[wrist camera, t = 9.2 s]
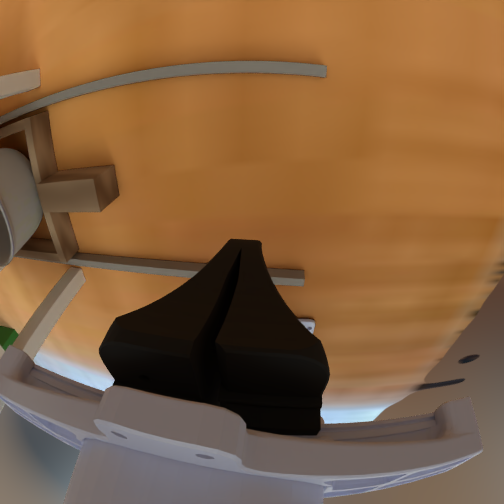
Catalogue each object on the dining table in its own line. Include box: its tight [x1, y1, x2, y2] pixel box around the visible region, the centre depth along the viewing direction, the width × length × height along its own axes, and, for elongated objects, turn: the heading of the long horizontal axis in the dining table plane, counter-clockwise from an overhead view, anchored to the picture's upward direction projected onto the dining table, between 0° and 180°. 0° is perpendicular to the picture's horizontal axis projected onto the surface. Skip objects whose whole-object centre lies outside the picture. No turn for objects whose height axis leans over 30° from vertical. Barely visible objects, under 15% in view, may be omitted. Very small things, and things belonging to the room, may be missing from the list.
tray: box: [0, 111, 119, 263], centre depth 21 cm, size 15×25×3 cm, turn 89°
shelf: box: [0, 61, 327, 360], centre depth 16 cm, size 24×44×16 cm, turn 89°
